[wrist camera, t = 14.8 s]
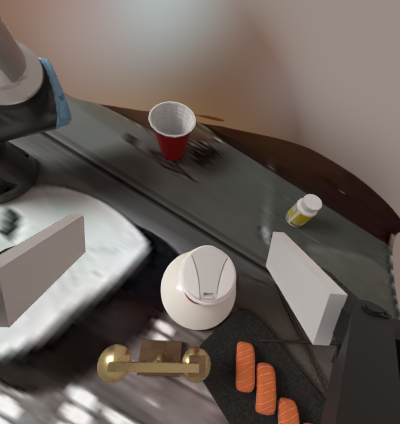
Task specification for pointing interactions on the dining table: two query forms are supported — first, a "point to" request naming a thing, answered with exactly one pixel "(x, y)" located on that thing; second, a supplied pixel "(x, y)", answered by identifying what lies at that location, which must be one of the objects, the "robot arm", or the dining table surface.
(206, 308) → the white round disc
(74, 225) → the robot arm
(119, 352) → the balance
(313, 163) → the dining table surface
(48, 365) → the dining table surface
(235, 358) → the sushi plate
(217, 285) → the coffee cup
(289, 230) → the dining table surface
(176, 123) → the plastic cup
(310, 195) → the supplement bottle
